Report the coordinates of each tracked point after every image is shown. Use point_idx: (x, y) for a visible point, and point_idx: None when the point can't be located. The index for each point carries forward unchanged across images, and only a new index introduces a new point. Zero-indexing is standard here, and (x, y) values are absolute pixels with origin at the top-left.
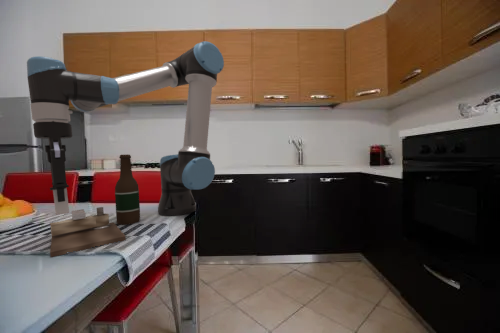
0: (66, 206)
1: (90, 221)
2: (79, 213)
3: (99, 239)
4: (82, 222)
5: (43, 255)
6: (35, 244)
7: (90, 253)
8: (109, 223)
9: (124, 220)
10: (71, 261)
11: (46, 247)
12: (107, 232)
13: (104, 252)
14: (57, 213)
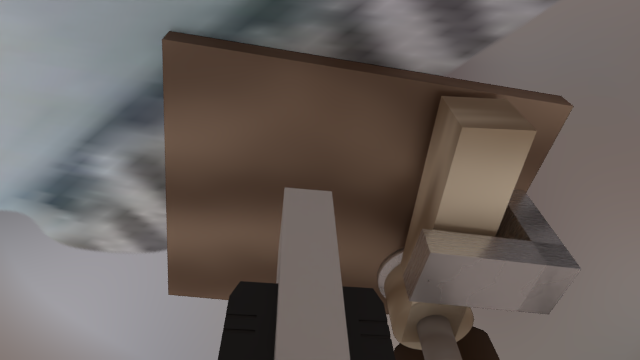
0: (276, 282)
1: None
2: (429, 281)
3: (201, 226)
4: None
5: (235, 10)
6: (502, 7)
7: (95, 161)
8: None
9: (414, 349)
10: (34, 88)
11: (375, 42)
12: None
13: (68, 198)
14: (283, 202)
